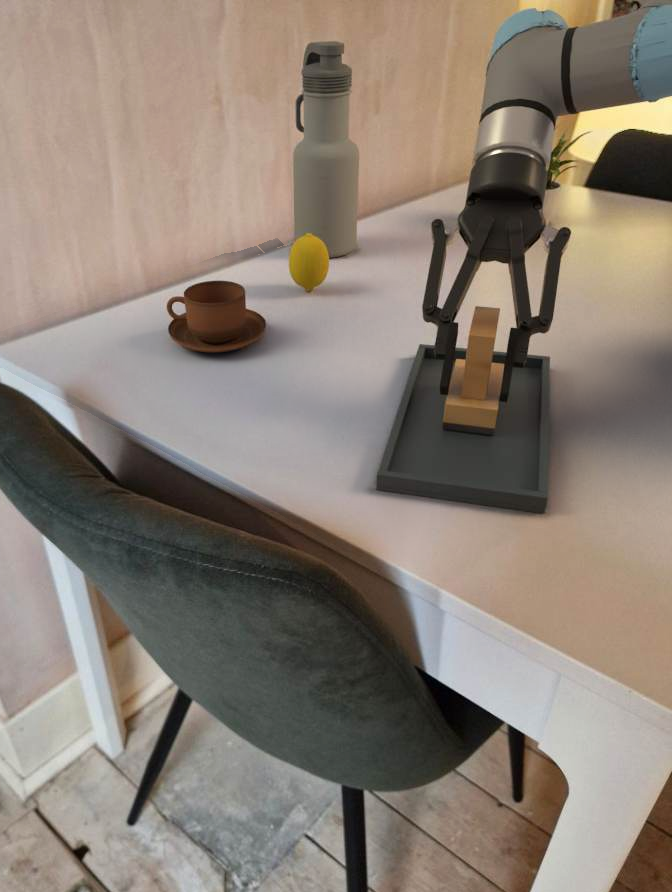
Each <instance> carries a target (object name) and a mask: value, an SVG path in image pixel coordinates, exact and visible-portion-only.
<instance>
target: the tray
mask: <svg viewBox="0 0 672 892" xmlns="http://www.w3.org/2000/svg"><path fill="white" fill-rule="evenodd" d="M434 347H435V344H434V345H433V344H424V343H423V344H422V343H419V345H418V348H417V350H416V354H415V357H414V360H413V362H412V363H413V364H412V366H411V369H410V371H409V375H408V378H407V381H406V384H405V388H404V390H403V394H402V397H401V399H400V402H399V405H398V409H397V412H396V415H395V418H394V421H393V425H392V427H391V430H390V433H389V436H388V439H387V442H386V446H385V448H384V451H383V454H382V458H381V461H380V464H379V467H378V471H377V473H376V483H375V489H376V491H383V492H390V493H397V494H403V495H410V496H419V497H425V498H431V499H439V500H445V501H446V500H447V501H453V502H460V503H467V504H468V503H469V504H473V505H474V504H475V505H481V506H488V507H493V508H501V509H502V508H503V509H509V510H510V509H511V510H516V511H523V512H531V513H535V514H536V513H538V514H545V513H546V508H547V504H548V500H549V499H548V498H549V453H550V451H549V447H550V446H549V445H550V443H549V442H550V387H551V386H550V383H551V381H550V380H551V356H547V355H536V354H529V353H528V354H527V359H526V363H525V365H524V366H523V368H518V367H513V370H512V376H511V383H510V389H509V395H508V399H507V402H501V401H499V407H498V413H497V419H496V425H495V431H494V435H485V434H477V433H469V432H462V431H454V430H446V429H442V426H443V417H444V409H445V402H446V398H447V395H440V381H441V375H442V369H443V363H444V360H443V359H436V358H435V353H434ZM466 352H467V347H456V348H455V355H454V361H453V367H452V373H451V378H452V374H453V370H454V366H455V362H456V359H463V360H466ZM506 353H507V351H498V350H497V351H493V357H492V363H501V364H504V365H505V359H506ZM503 372H504V370H503ZM450 382H451V379H450ZM449 386H450V385H449Z"/></svg>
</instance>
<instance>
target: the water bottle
mask: <svg viewBox="0 0 672 892" xmlns="http://www.w3.org/2000/svg"><path fill="white" fill-rule="evenodd" d="M343 54H345V43H344V42H339V41H337V40H336V41H335V40H330V41H329V40H327V41H315V42H313V41H312V42H309V43H308V44H307V45H306V47H305V50H304V54H303V60H302V69H301V77H302V78H301V80H302V84H301V85H302V86H301V87H302V89H301V94H299V95H298V96H297V97H296V99H295V127H296V129H297V131H299V132H300V133H303V138H302V140H300V141H299V142H298V143H297V144H296V146H295V147H294V149H293V152H292V168H293V169H292V171H293V174H292V175H293V178H292V179H293V229H294V230H293V231H294V233H293V234H294V236H293V237H294V242H295V241H296V240H298V239H299V238H300V237H302V236H305V235H306V234H307V233H311V234H312V235H313V236H316V237H318V238H319V239H320V240H322V241H323V243H324V244H325V246H326V248H327V251H328V256H329V259H333V258H334V259H335V258H339V257H343V256H345V255H348V254H350V253H352V252H353V251H354V250H355V248H356V246H357V239H358V238H357V237H358V208H359V207H358V206H359V204H358V203H359V180H360V179H359V176H360V175H359V174H360V150H359V148H358V146H357V144H356V143H355V142H354V141H353V140H352V139H351V138H350V137H349V136H350V99H351V98H350V96H351V95H350V94H351V93H352V89H351V88H352V85H353V82H352V80H353V79H352V77H353V75H352V74H353V69H352V67H351V66H349V65H348V64H346V63H343V57H342V56H343ZM302 103H303V124H302V119H301V116H302V115H301V113H302V112H301V107H302Z"/></svg>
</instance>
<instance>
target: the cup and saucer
mask: <svg viewBox="0 0 672 892" xmlns="http://www.w3.org/2000/svg"><path fill="white" fill-rule="evenodd" d="M246 299H247V298H246V289H245V287H244V286H243V285H242V284H240V283H237V282H234V281H229V280H207V281H203V282H202V281H201V282H198V283H194V284H192V285H189V286H188V287H187V288H186V289H184V292H183V296H180V295H179V296H178V295H177V296H172V297H171V298H169V300H168V301H167V303H166V311H167V314H168V315H169V316H170V317H171V318H172V320H171V321H170V322H169V324H168V326H167V331H168V334H169V336H170V338H171V340H173V342H175V343H177V344H178V345H179V346H181V347H182V348H185V349H188V350H191V351H195V352H201V353H224V352H225V353H226V352H232V351H236V350H239V349H243V348H246V347H248V346H250V345H252V344H253V343H255V342H256V341H258V340H259V339H260V338H261V337H262V336H263V335H264V333H265V331H266V327H267V322H266V319H265V318H264V316H263V315H261V314H260V313H258V312H257V311H255V310H252V309H249V308H247V305H246V304H247V303H246ZM175 303H181V304H183V305H184V308H185V312H184V313H181V314H177V313H176V312H175V311H174V310H173V304H175Z"/></svg>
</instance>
